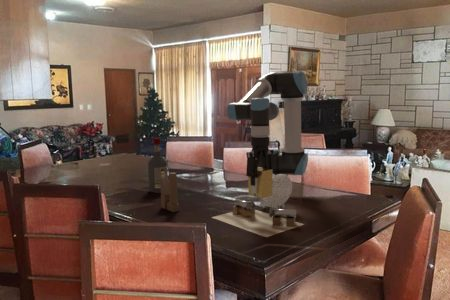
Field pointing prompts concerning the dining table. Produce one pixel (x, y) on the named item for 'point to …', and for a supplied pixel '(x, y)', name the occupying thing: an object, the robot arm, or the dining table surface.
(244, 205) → the tan silver-topped block
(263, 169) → the yellow tall block
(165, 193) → the wooden block
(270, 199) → the decorative heart
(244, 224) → the board
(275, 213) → the grey brown bridge piece
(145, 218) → the dining table surface
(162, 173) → the liquor
